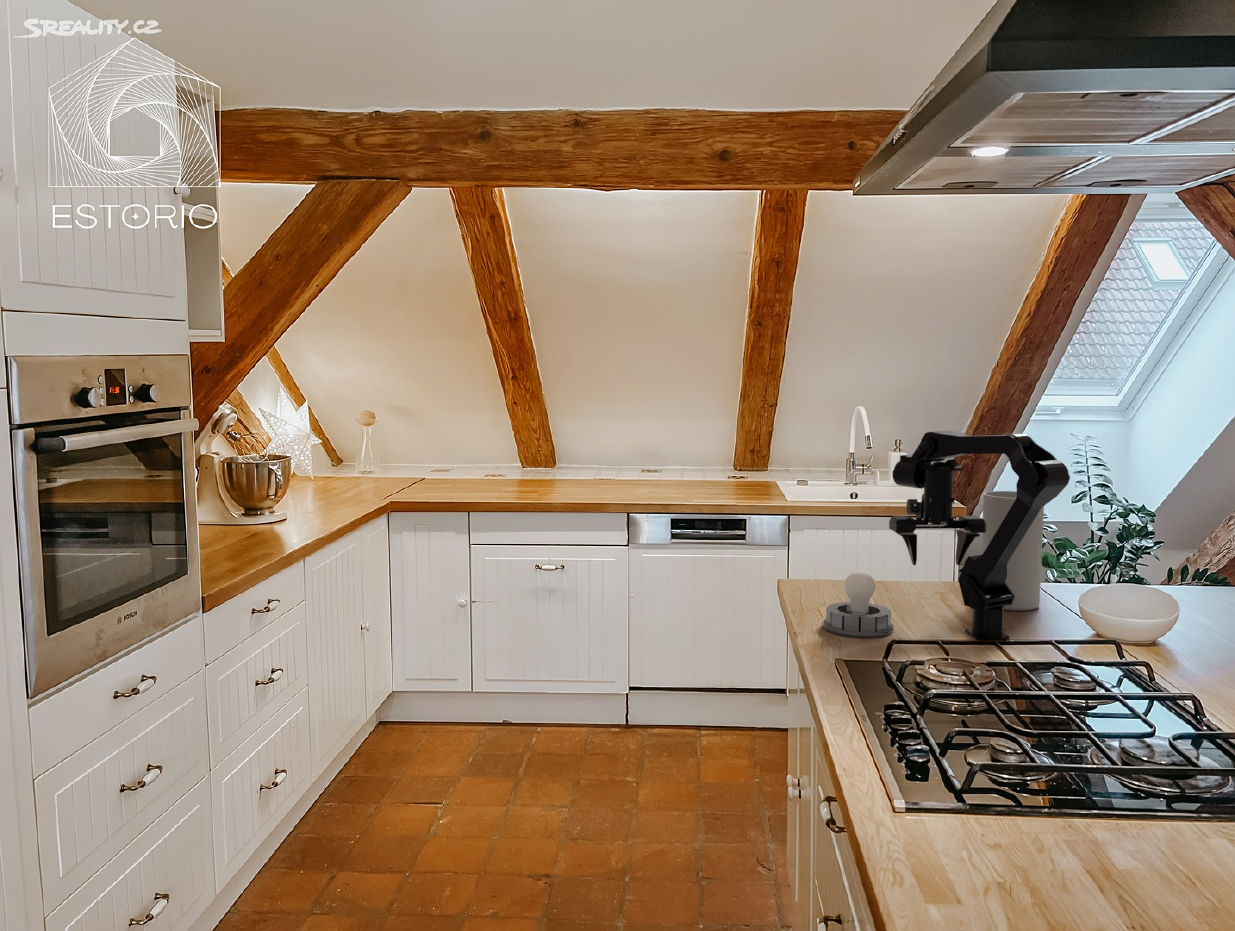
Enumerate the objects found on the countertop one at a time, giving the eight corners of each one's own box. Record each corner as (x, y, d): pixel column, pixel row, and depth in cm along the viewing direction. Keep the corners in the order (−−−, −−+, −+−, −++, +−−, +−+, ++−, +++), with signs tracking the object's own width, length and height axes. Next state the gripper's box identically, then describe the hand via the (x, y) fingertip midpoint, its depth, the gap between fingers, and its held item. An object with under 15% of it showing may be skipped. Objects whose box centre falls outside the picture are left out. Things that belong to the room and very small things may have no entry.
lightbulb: (855, 618, 203) (857, 566, 202) (880, 624, 198) (881, 571, 197) (837, 623, 199) (838, 570, 198) (861, 629, 194) (863, 575, 193)
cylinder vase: (1047, 604, 218) (1052, 494, 216) (1026, 614, 209) (1031, 500, 207) (993, 595, 227) (997, 489, 224) (970, 605, 218) (974, 495, 215)
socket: (903, 637, 192) (904, 617, 192) (834, 638, 191) (834, 619, 191) (880, 619, 206) (880, 600, 206) (815, 620, 205) (815, 601, 205)
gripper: (968, 486, 210) (965, 556, 212) (882, 486, 210) (880, 557, 212) (988, 493, 199) (985, 567, 201) (898, 493, 199) (896, 568, 200)
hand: (935, 564), depth 204 cm, fingers open, 9 cm apart
